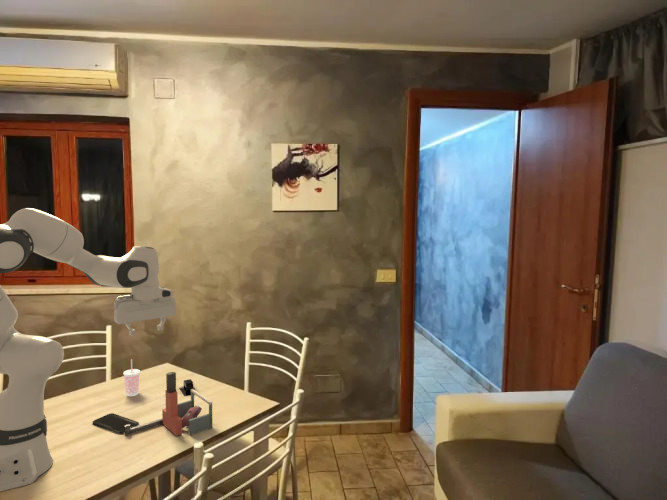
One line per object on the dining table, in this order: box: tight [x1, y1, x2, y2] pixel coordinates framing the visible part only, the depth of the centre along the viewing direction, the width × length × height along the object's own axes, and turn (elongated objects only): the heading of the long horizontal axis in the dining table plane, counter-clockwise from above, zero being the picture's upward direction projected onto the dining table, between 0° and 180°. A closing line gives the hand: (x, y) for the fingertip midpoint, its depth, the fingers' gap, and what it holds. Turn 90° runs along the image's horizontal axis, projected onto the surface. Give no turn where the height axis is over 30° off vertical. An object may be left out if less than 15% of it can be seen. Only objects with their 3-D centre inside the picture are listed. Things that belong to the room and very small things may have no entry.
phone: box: [92, 412, 140, 435], centre depth 157 cm, size 8×1×15 cm
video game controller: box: [181, 405, 203, 429], centre depth 158 cm, size 10×5×7 cm, turn 170°
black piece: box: [178, 379, 197, 397], centre depth 185 cm, size 12×7×5 cm, turn 32°
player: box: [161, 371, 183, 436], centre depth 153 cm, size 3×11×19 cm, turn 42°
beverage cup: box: [122, 358, 141, 397], centre depth 181 cm, size 6×6×14 cm
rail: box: [123, 417, 164, 436], centre depth 154 cm, size 14×1×3 cm, turn 132°
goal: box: [177, 389, 213, 436], centre depth 158 cm, size 8×15×9 cm, turn 42°
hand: (146, 332), depth 158 cm, fingers open, 8 cm apart
